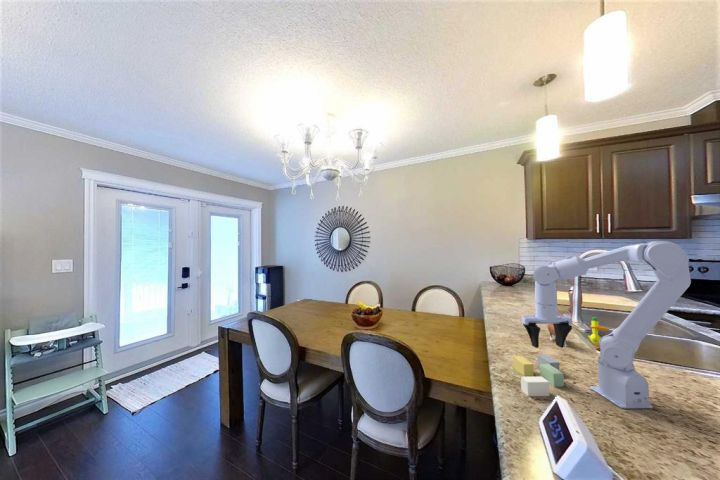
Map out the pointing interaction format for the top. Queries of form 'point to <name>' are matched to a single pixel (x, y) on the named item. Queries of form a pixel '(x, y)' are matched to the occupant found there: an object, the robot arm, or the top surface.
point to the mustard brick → (523, 366)
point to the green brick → (552, 375)
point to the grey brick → (547, 361)
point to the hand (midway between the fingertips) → (547, 346)
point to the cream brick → (535, 386)
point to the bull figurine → (552, 332)
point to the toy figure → (596, 331)
